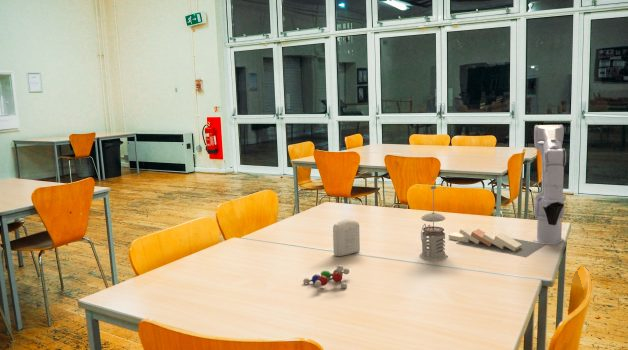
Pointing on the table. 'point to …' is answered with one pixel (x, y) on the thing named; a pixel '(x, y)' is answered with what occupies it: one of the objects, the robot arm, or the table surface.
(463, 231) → the domino
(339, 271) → the molecule model
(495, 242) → the domino
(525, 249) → the mat
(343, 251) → the photo printer
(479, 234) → the terracotta domino
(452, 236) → the domino
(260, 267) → the table surface
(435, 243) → the french press
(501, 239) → the domino
